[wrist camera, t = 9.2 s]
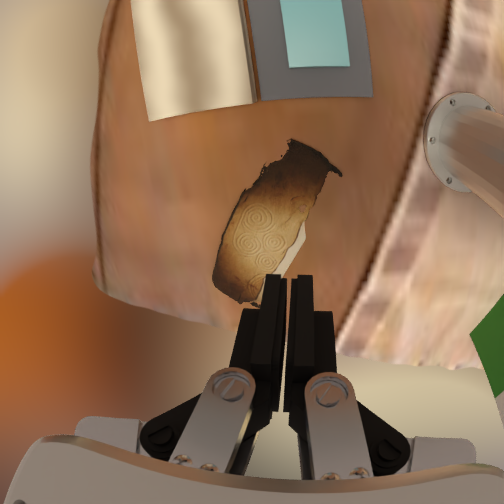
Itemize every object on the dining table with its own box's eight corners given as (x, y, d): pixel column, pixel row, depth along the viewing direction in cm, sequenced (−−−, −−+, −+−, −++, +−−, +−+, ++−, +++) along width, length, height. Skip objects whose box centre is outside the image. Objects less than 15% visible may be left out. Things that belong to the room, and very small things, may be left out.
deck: (238, -26, 21) (231, -38, 18) (257, 101, 29) (252, 103, 26) (146, -2, 23) (129, -9, 20) (164, 116, 31) (149, 121, 28)
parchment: (260, 310, 45) (260, 314, 44) (200, 286, 44) (199, 290, 43) (348, 166, 32) (349, 168, 32) (271, 128, 31) (270, 129, 30)
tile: (278, -11, 20) (279, -6, 22) (289, 67, 25) (289, 68, 26) (338, -12, 19) (336, -7, 21) (349, 66, 24) (346, 67, 25)
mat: (353, -31, 19) (354, -33, 18) (372, 97, 27) (373, 97, 27) (243, -27, 21) (242, -28, 20) (262, 100, 29) (261, 100, 29)
